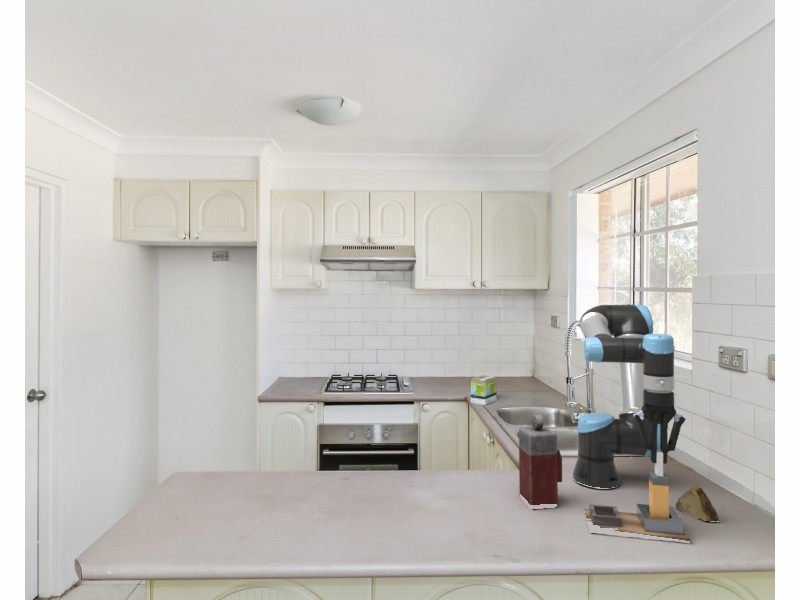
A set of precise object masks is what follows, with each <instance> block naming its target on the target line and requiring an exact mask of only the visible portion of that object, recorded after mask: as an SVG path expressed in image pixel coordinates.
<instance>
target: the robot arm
mask: <svg viewBox="0 0 800 600" xmlns="http://www.w3.org/2000/svg"><path fill="white" fill-rule="evenodd" d="M579 327H580V328H579V329H580V330H581V332H582V334H583V335H585V338H584V340H583V354H584V357H583V358H584V360H585V361H586V362H590V363H591V362H594V363H597V364H598V363H618V364H619V365H620V379H621V381H620V383H621V394H622V397H621V398H622V411H620V412H619V413H618V418H615V417H614V415H613V414H612V413H609V412H607V413H606V412H590V413H585V414H583V415H581V416H580V417H579V418H578V421H577V428H576V429H577V459H576V462H575V465H574V468H573V472H572V479H573V478H574V479H575V480H576V481H578V482H580V483H582V484H585V485H588V486H592V487H600V488H612V487H616V486H618V485H619V484H620V483H621V482H620V475H619V472H618V470H617V466H616V463H615V454H617V455H618V454H619V455H632V456H642V457H650V461H651V463H652V464H654V473H655V474H656V475H657V476H660V477H663V473H664V465H666V464H667V463H668V454H669V452H674V451H675V450H676V446H677V442H678V439H679V435H680V432H681V428H682V425H684V422H685V421H686V418H685V417H684V416H683V415H681V414H679V413H678V412H677V410H676V408H675V393H674V390H675V343H674V342H675V341H674V337H673V336H672V335H670V334H666V333H654V321H653V315H652V313H651V311H650V309H649V308H648V307H647V306H646V305H643V304H634V303H633V304H601V305H596V306H594V307H591V308H589V309H587V310H586V311H585V312H584V313H583V314H582V315H581V317H580V319H579ZM672 420H673V424H672V427H671V430H670V435H669V438H668V428H669V423H671V421H672ZM619 486H620V485H619ZM619 486H618V487H619Z"/></svg>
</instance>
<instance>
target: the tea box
mask: <svg viewBox="0 0 800 600" xmlns="http://www.w3.org/2000/svg"><path fill="white" fill-rule="evenodd" d="M497 380H498V379H497V376H493V375H492V376H491V375H484V374H482V375H478V376H475V377H473V378H471V379H470V403H471V404H475V405H480V406H486V405H488V404H490V403H494V402H496V401H497V400H498V399H497V398H498V397H497V396H498V395H497V393H498V392H497V391H498V389H497V385H498V384H497V383H498V381H497Z"/></svg>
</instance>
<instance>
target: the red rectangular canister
mask: <svg viewBox="0 0 800 600" xmlns="http://www.w3.org/2000/svg"><path fill="white" fill-rule="evenodd" d="M518 458H519V459H518V460H519V462H518V464H519V467H518V468H519V470H518V471H519V472H518V473H519V475H518V476H519V482H518V483H519V495H520V494H521V495H522V496H523V497H524V498H525V499H526V500H527V501H528V503H529V504H530V505H540V504H557V503H559V502H558V501H559V500H558V497H559V495H558V494H559V493H558V487H559V486H558V483H563V457H562V454H561V451H560V450H559V449H558V434H557V433H556V432H554V431H553V430H551V429H550V428H549V427H547V426H546V425H544V419H543V416H542V415H541V414H533V415H532V416H531V426H529V425H528V426H521V427H519V428H518Z"/></svg>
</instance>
